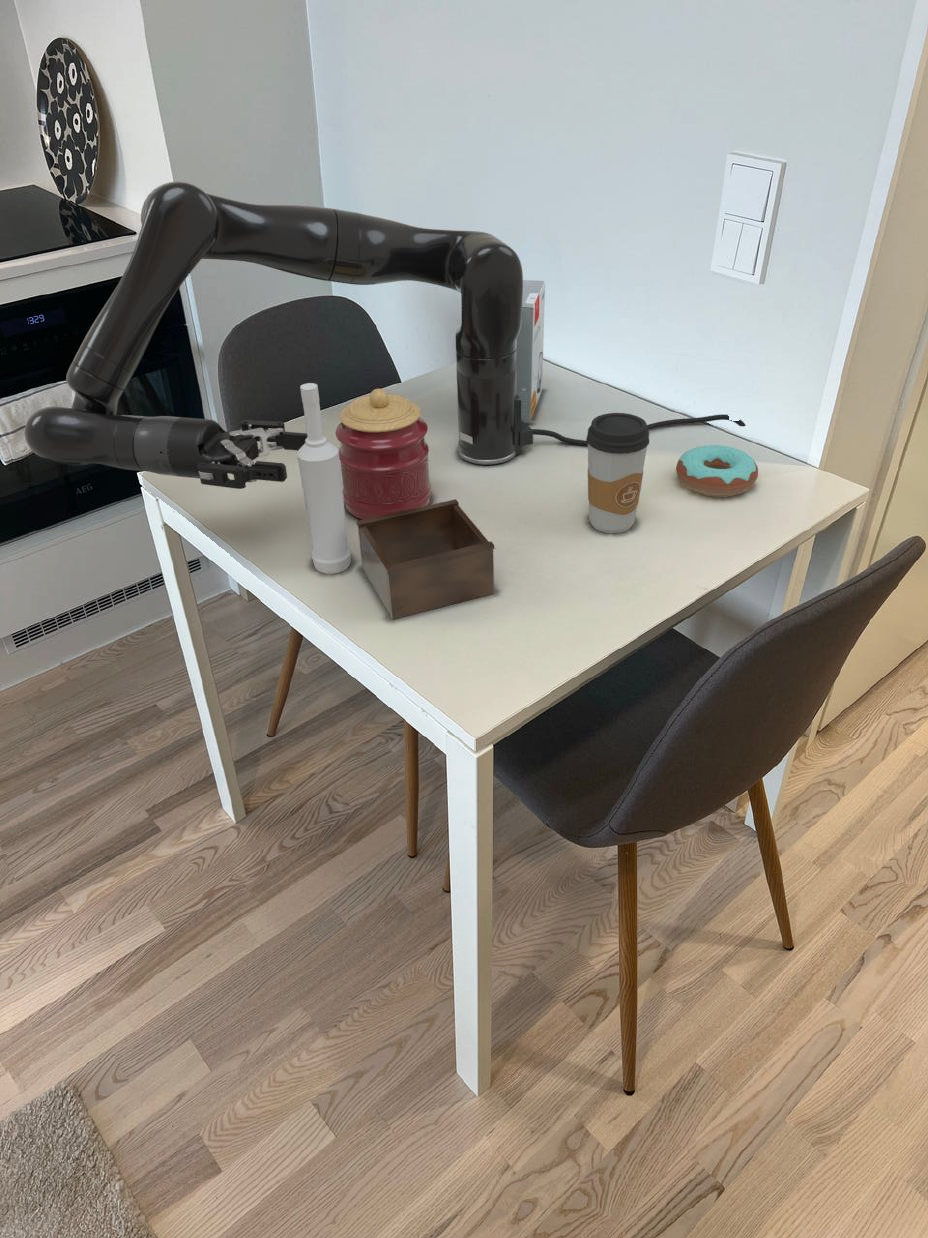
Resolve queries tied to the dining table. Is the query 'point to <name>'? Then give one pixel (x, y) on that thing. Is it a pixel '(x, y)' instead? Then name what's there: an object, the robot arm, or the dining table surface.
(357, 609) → the dining table surface
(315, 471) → the bottle
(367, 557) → the crate
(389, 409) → the kitchen canister
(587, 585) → the dining table surface
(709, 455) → the donut
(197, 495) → the dining table surface
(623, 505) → the coffee cup
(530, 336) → the hard drive box
